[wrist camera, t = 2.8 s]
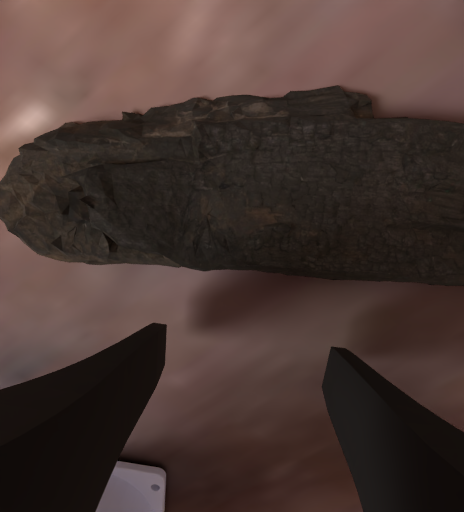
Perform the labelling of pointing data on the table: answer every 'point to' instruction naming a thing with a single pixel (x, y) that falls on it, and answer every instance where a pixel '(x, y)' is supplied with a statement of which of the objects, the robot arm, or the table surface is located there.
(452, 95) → the table surface
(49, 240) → the wood
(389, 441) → the robot arm
